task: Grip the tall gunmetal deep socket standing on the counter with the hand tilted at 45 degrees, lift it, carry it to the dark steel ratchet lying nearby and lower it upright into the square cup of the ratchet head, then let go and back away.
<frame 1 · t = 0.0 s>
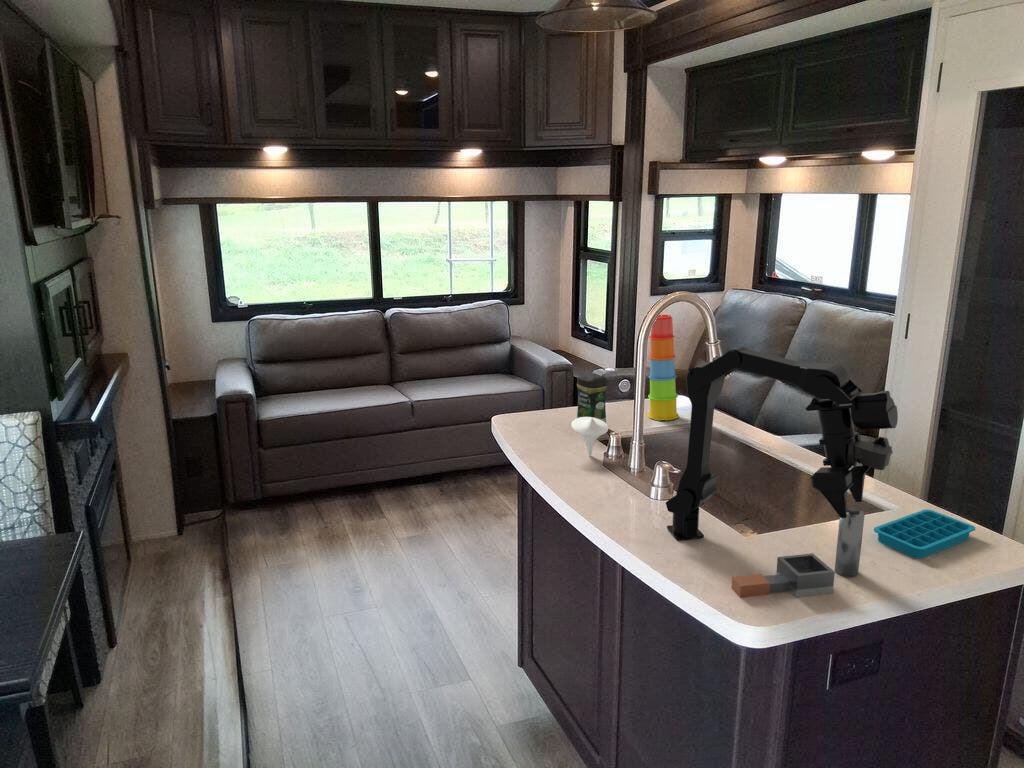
hand: (851, 509, 143), 15 cm above the worktop, tool pointing down, fingers open, 9 cm apart
coffee jar: (591, 429, 242), on the worktop
white spinning top: (589, 456, 218), on the worktop
stacking cups: (663, 417, 253), on the worktop
ice cube tray: (922, 541, 164), on the worktop
socket: (846, 572, 151), on the worktop
ratchet: (803, 585, 146), on the worktop
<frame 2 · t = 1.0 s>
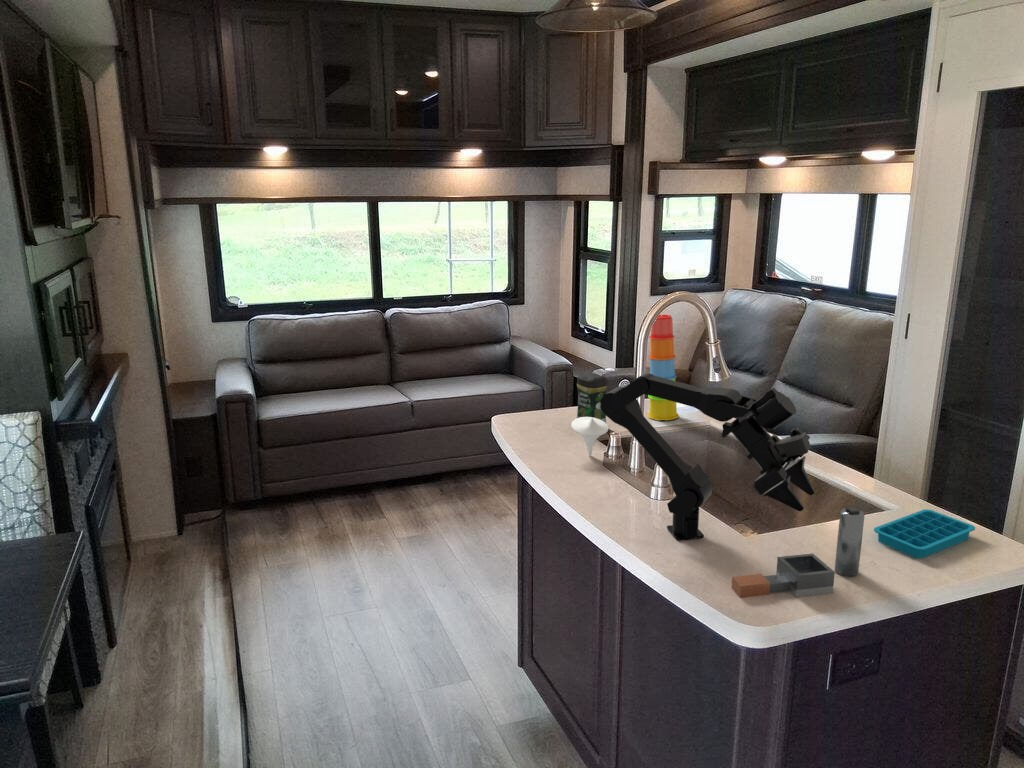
hand: (807, 502, 152), 13 cm above the worktop, tool tilted 45°, fingers open, 9 cm apart
nothing on the worktop moved.
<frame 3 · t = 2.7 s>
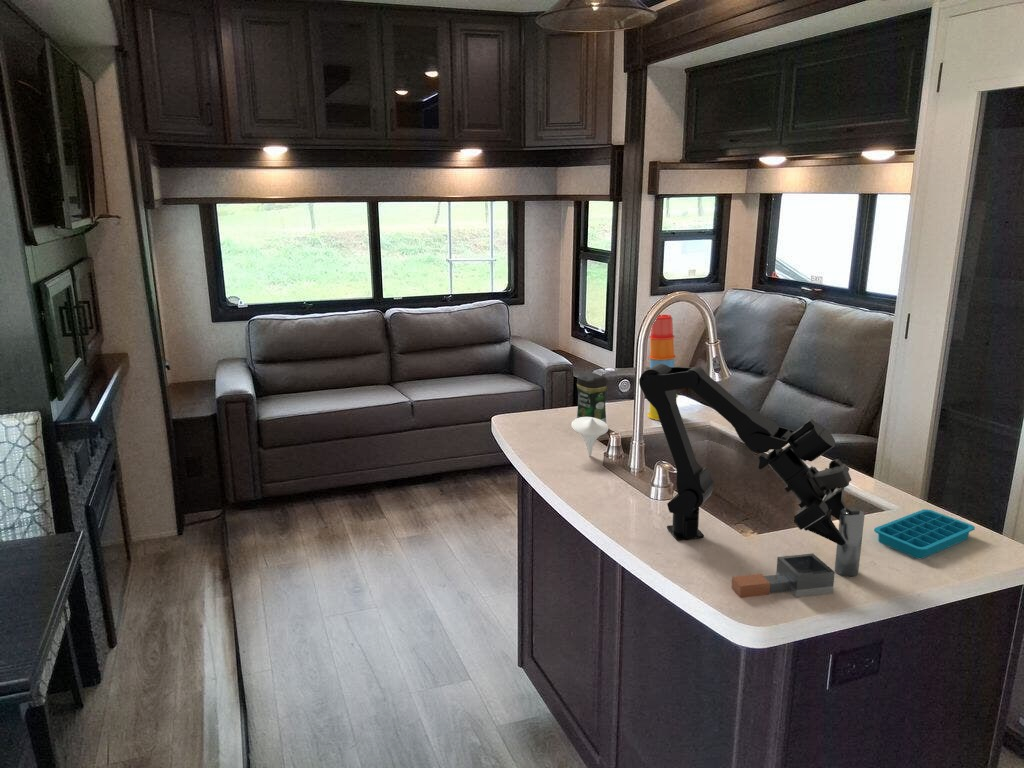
hand: (848, 535, 149), 8 cm above the worktop, tool tilted 45°, fingers open, 9 cm apart
nothing on the worktop moved.
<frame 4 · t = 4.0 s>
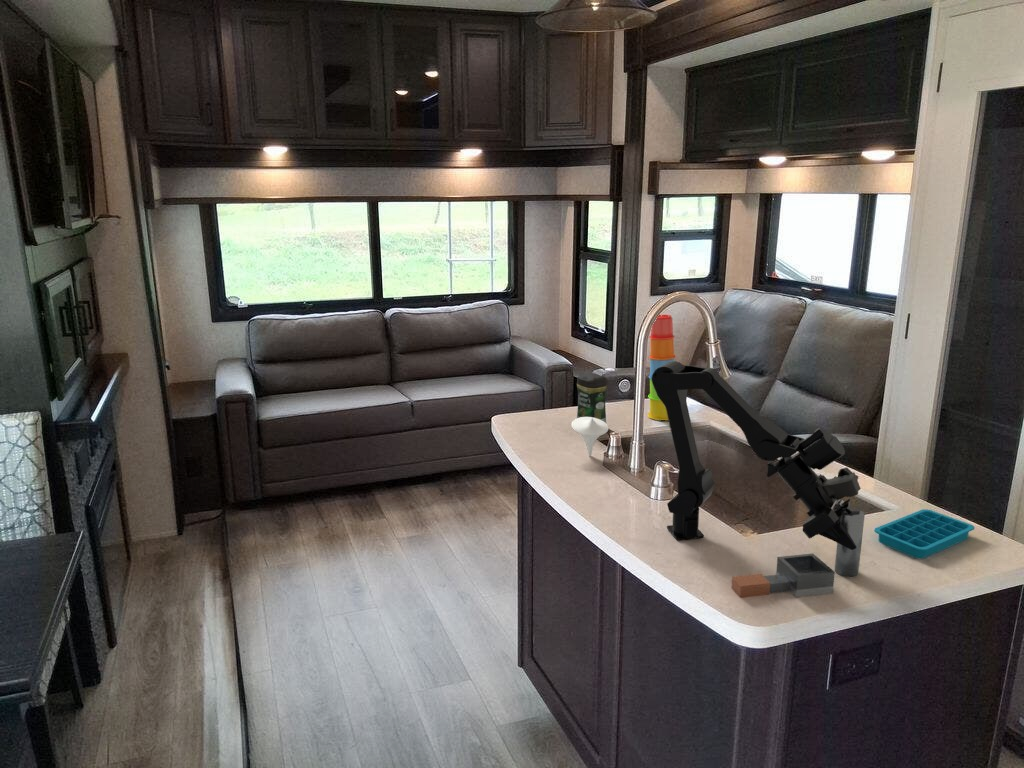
hand: (856, 543, 148), 7 cm above the worktop, tool tilted 45°, fingers closed on socket, 4 cm apart
socket: (846, 571, 151), on the worktop, touching gripper
everything else where it was.
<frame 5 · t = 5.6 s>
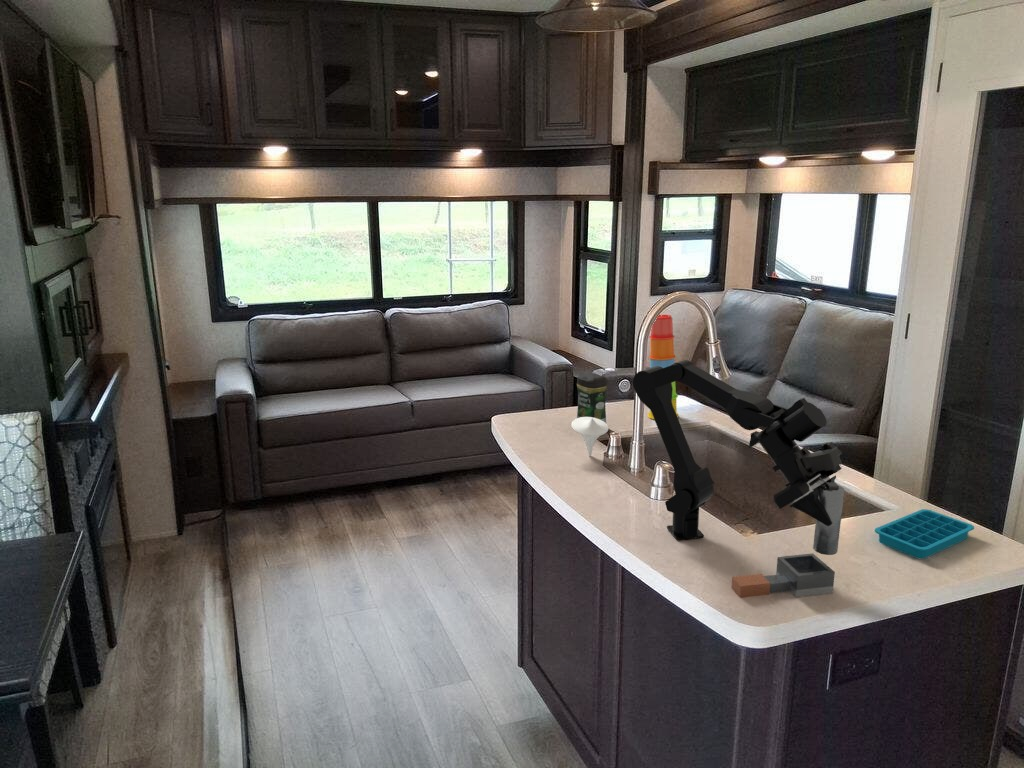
hand: (835, 520, 143), 13 cm above the worktop, tool tilted 45°, fingers closed on socket, 4 cm apart
socket: (825, 549, 146), point 7 cm above the worktop, touching gripper
everything else where it was.
when the fingers open (9 cm above the worktop, at t = 7.2 s): socket drops 1 cm, resting on ratchet.
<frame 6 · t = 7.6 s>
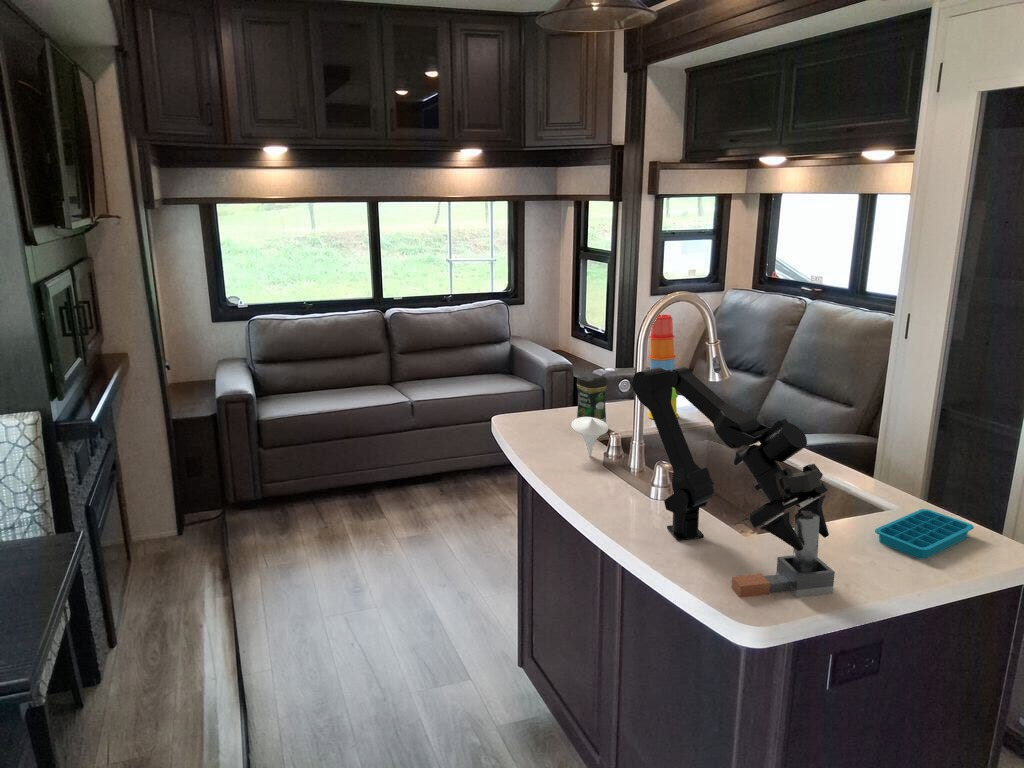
hand: (814, 543, 143), 10 cm above the worktop, tool tilted 45°, fingers open, 8 cm apart
socket: (804, 577, 146), point 2 cm above the worktop, touching ratchet
everything else where it was.
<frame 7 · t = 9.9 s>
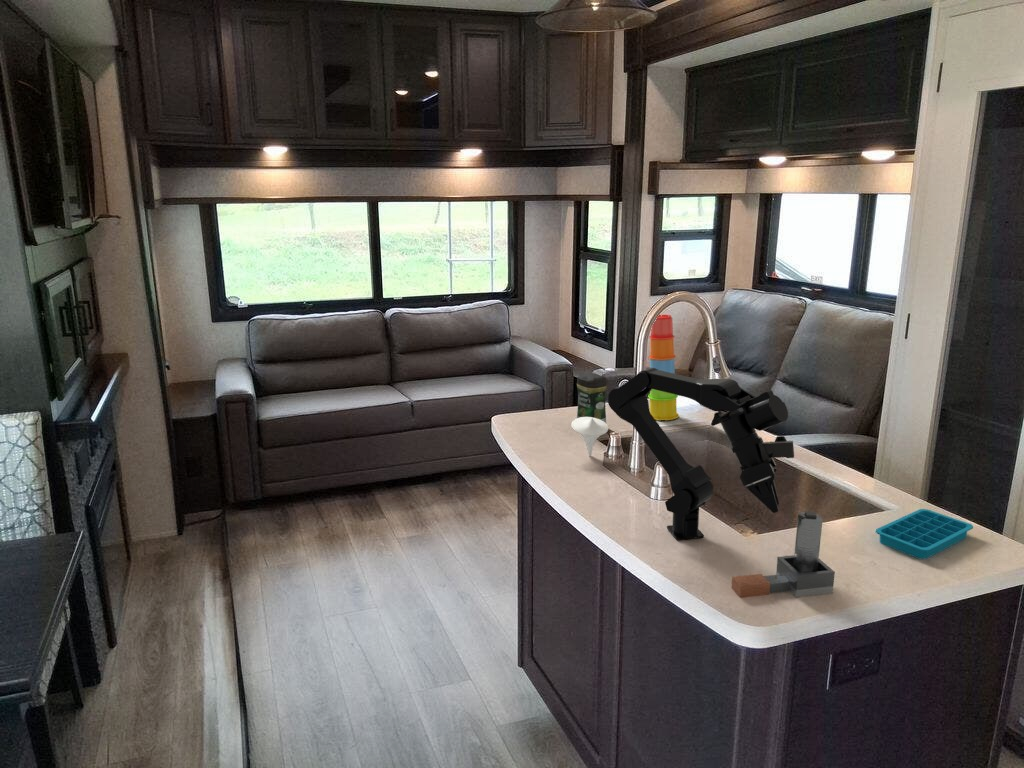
hand: (776, 508, 151), 12 cm above the worktop, tool tilted 30°, fingers open, 9 cm apart
nothing on the worktop moved.
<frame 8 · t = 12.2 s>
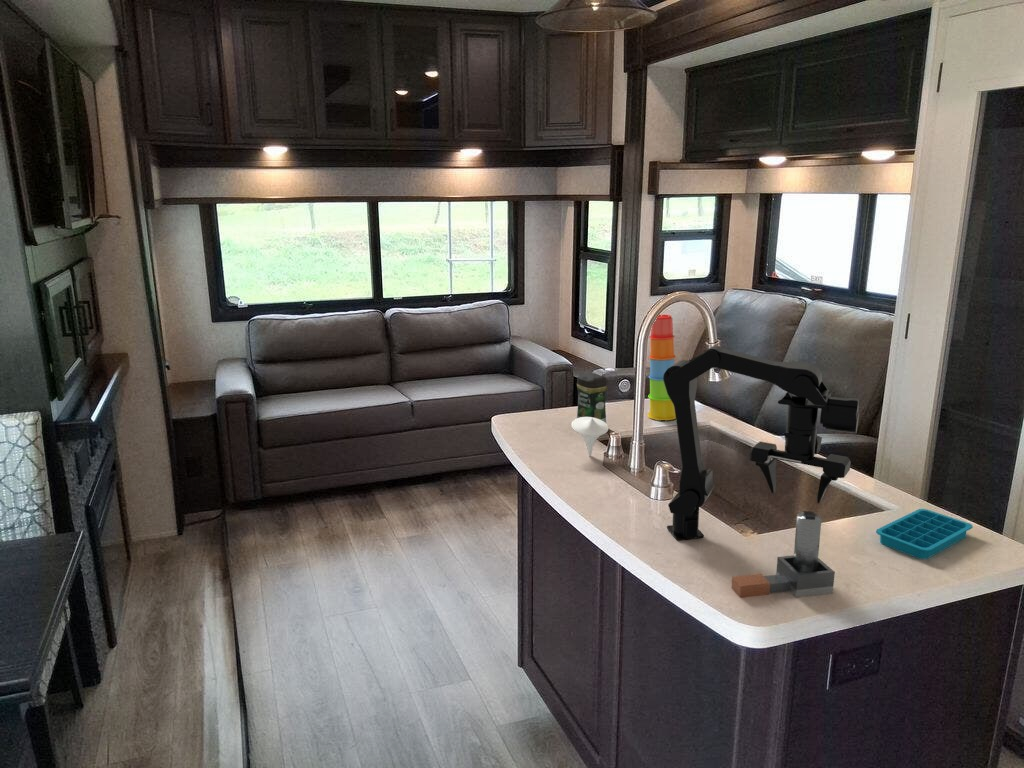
hand: (795, 497, 155), 13 cm above the worktop, tool pointing down, fingers open, 9 cm apart
nothing on the worktop moved.
at the end: socket 0.0 cm off-centre on the ratchet, point 1.5 cm above the ratchet's base; socket tilted 1°; the gripper is holding nothing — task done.
